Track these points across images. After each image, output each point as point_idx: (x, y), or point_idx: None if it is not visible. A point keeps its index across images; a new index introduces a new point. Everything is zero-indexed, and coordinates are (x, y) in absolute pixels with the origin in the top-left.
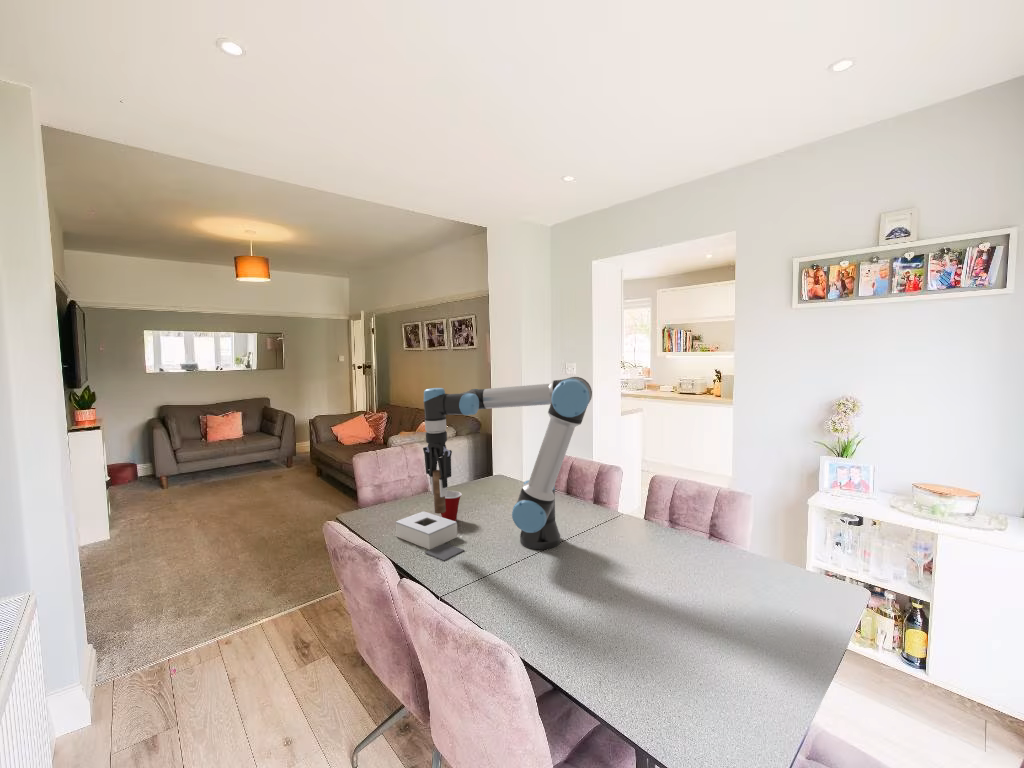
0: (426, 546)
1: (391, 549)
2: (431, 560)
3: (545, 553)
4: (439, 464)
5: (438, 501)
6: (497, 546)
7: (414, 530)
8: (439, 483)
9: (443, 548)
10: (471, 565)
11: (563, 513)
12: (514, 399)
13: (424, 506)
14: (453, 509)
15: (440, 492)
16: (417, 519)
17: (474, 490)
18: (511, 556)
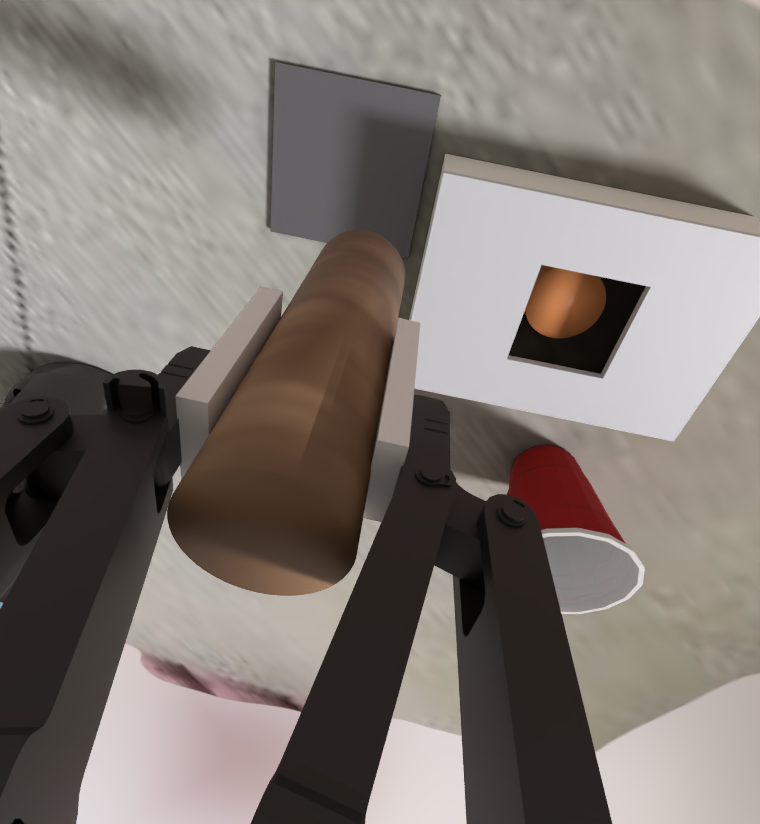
0: (471, 161)
1: (693, 28)
2: (345, 29)
3: (2, 349)
4: (40, 619)
5: (317, 271)
6: (186, 331)
7: (590, 199)
8: (232, 368)
9: (374, 194)
10: (124, 97)
11: (201, 605)
12: None
13: (748, 552)
14: None
15: (257, 310)
16: (649, 333)
17: (594, 687)
18: (69, 273)
